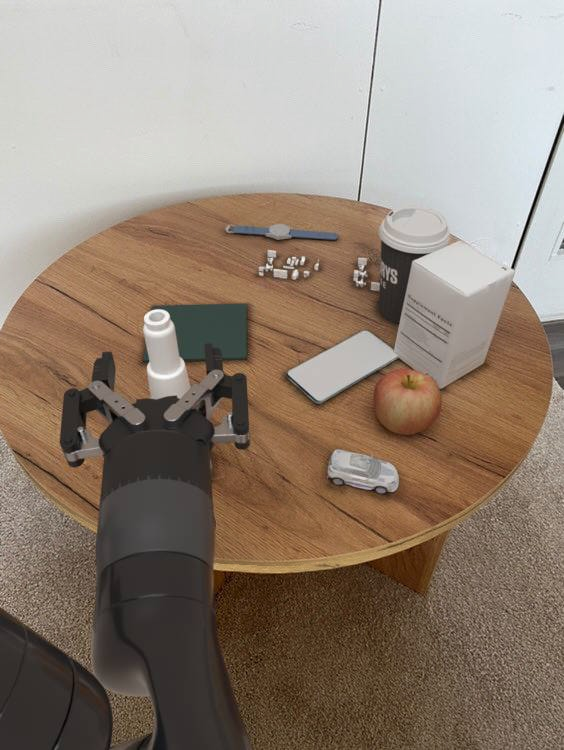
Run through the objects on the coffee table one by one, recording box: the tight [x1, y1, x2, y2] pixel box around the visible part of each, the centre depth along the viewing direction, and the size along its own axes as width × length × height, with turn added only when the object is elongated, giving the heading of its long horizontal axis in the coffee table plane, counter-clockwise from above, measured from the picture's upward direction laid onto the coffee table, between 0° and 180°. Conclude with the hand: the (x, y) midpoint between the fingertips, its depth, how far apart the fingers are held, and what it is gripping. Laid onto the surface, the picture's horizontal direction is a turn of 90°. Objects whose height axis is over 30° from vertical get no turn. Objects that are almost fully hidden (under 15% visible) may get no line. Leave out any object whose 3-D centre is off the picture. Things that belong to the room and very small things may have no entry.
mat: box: [142, 303, 248, 363], centre depth 83 cm, size 14×12×1 cm
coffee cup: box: [377, 205, 451, 325], centre depth 82 cm, size 10×10×15 cm
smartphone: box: [285, 329, 399, 405], centre depth 78 cm, size 7×1×15 cm
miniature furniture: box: [258, 249, 380, 292], centre depth 93 cm, size 7×25×2 cm, turn 77°
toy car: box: [326, 448, 400, 495], centre depth 64 cm, size 4×8×3 cm, turn 76°
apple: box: [373, 368, 443, 436], centre depth 68 cm, size 8×8×8 cm
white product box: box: [393, 240, 516, 390], centre depth 74 cm, size 9×9×15 cm
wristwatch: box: [224, 223, 339, 241], centre depth 102 cm, size 4×20×1 cm, turn 83°
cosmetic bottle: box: [142, 309, 212, 467], centre depth 58 cm, size 6×6×22 cm
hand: (159, 354), depth 50 cm, fingers open, 8 cm apart
